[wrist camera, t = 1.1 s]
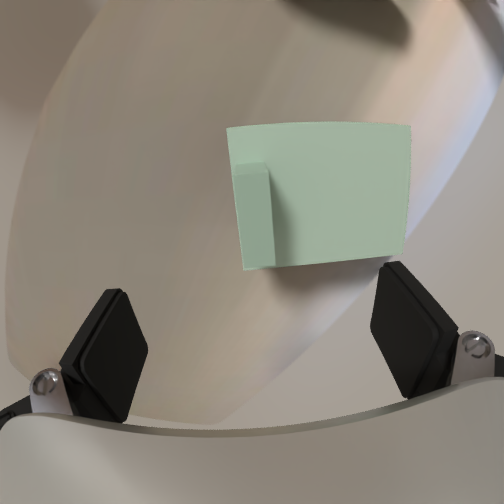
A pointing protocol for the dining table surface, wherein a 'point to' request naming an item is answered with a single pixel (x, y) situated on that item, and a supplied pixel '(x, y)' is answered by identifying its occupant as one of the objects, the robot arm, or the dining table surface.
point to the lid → (319, 191)
